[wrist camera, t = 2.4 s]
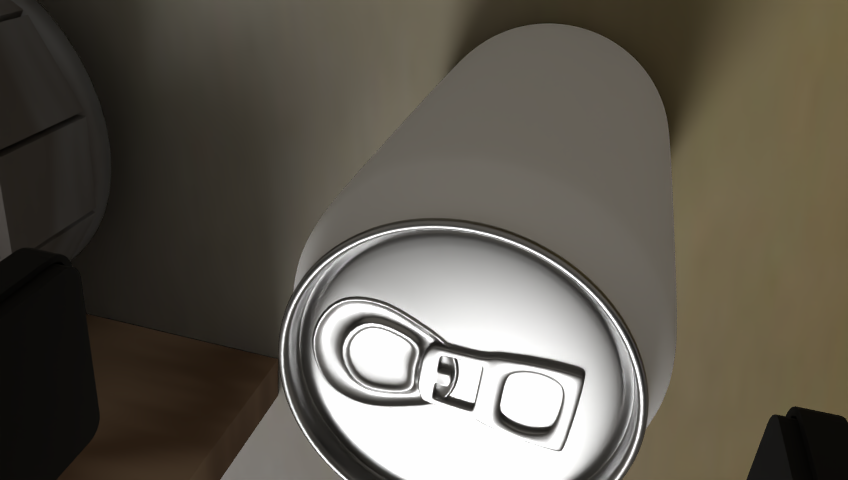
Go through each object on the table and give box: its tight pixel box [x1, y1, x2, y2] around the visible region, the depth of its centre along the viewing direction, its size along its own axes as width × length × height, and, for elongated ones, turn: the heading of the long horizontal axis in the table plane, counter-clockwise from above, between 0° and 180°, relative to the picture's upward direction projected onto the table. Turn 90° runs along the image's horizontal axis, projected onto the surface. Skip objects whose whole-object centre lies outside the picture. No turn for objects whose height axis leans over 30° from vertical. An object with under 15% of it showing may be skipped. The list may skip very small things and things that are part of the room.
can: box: [278, 23, 677, 480], centre depth 17 cm, size 6×6×12 cm
